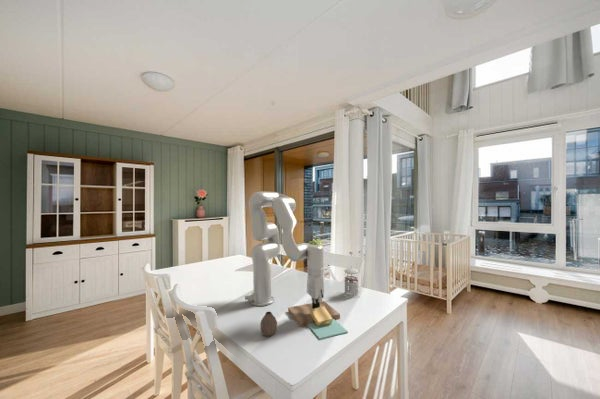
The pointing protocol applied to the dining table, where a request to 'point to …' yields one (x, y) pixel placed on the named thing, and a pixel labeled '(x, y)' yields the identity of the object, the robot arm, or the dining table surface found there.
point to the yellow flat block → (321, 316)
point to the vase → (268, 324)
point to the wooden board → (303, 313)
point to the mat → (327, 329)
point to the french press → (351, 283)
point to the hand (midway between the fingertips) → (316, 310)
